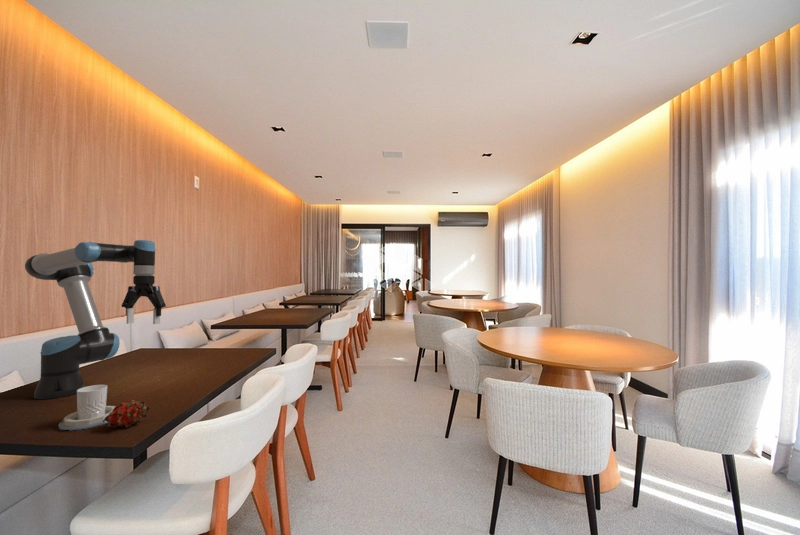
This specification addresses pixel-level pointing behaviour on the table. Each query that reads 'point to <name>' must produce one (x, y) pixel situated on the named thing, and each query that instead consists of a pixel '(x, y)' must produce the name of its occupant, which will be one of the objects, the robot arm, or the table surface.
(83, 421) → the ring plate
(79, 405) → the white cup
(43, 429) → the table surface
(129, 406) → the dragon fruit
